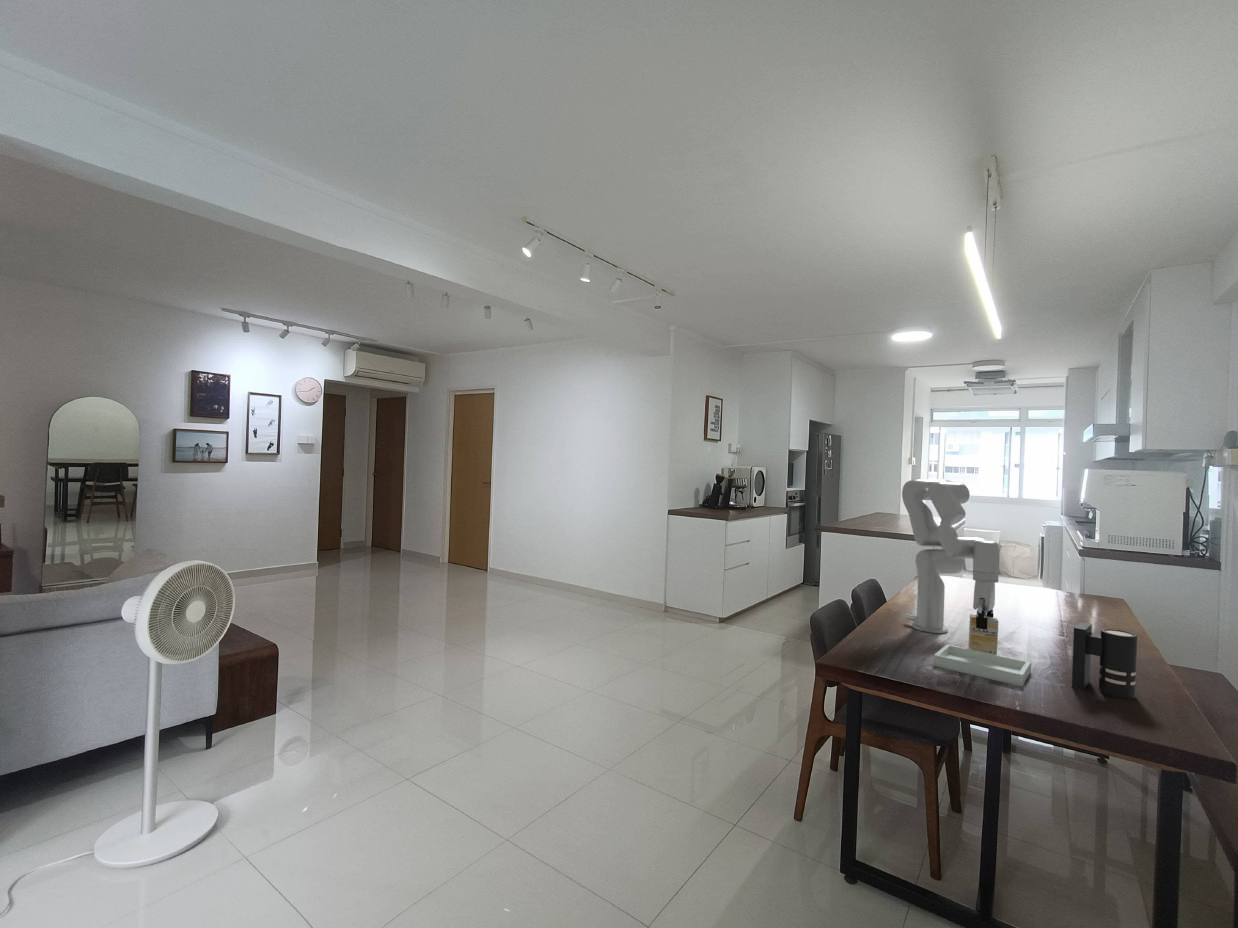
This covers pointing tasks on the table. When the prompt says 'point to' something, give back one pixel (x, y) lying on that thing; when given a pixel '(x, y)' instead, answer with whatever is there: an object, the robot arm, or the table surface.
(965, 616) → the table surface
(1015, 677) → the tray
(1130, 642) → the outdoor wall sconce
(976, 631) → the supplement box
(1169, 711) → the table surface
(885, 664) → the table surface
